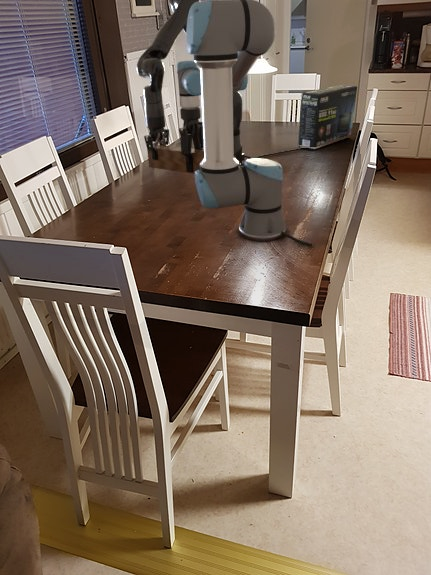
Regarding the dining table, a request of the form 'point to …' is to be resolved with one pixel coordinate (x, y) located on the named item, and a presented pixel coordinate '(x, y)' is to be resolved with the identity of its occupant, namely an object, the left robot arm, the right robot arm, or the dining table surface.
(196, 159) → the bar
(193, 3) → the left robot arm
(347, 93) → the router box
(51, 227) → the dining table surface
